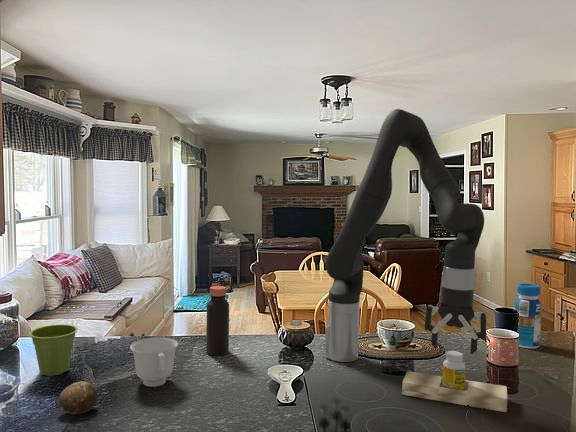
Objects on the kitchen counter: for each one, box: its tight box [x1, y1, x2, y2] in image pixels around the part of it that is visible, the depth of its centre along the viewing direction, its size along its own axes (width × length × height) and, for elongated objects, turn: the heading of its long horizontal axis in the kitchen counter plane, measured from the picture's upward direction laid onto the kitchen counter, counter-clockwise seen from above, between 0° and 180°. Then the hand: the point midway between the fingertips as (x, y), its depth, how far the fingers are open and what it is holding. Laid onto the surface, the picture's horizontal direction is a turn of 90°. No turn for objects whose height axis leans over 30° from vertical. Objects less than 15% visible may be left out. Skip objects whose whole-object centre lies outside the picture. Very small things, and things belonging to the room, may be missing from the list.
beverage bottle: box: [513, 282, 543, 350], centre depth 168 cm, size 8×8×20 cm
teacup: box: [129, 337, 179, 388], centre depth 131 cm, size 12×15×10 cm
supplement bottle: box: [441, 350, 467, 391], centre depth 127 cm, size 5×5×10 cm
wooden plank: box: [401, 370, 508, 413], centre depth 127 cm, size 24×8×3 cm, turn 68°
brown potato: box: [58, 380, 99, 415], centre depth 116 cm, size 8×8×6 cm
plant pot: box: [28, 324, 78, 377], centre depth 138 cm, size 12×12×11 cm
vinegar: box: [205, 285, 230, 357], centre depth 155 cm, size 7×7×20 cm
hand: (453, 350), depth 126 cm, fingers open, 8 cm apart
